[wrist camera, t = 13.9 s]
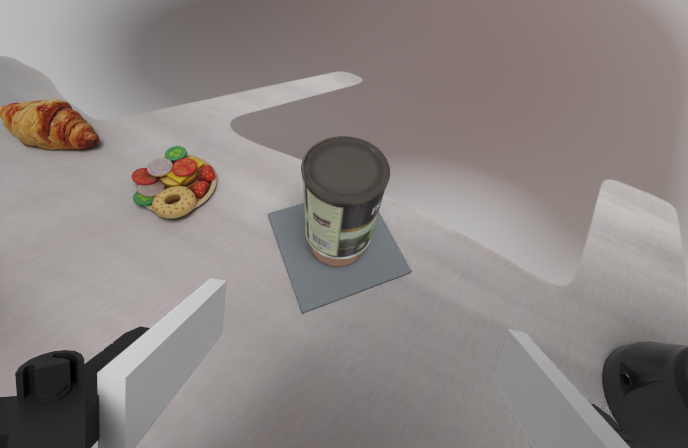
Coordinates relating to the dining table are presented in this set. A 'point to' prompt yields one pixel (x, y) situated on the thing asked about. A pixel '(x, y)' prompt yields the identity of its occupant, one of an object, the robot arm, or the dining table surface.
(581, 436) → the robot arm
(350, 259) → the bowl
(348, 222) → the coffee can
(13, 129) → the croissant
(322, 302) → the mat
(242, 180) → the dining table surface
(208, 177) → the toy food set
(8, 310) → the dining table surface
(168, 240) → the dining table surface
